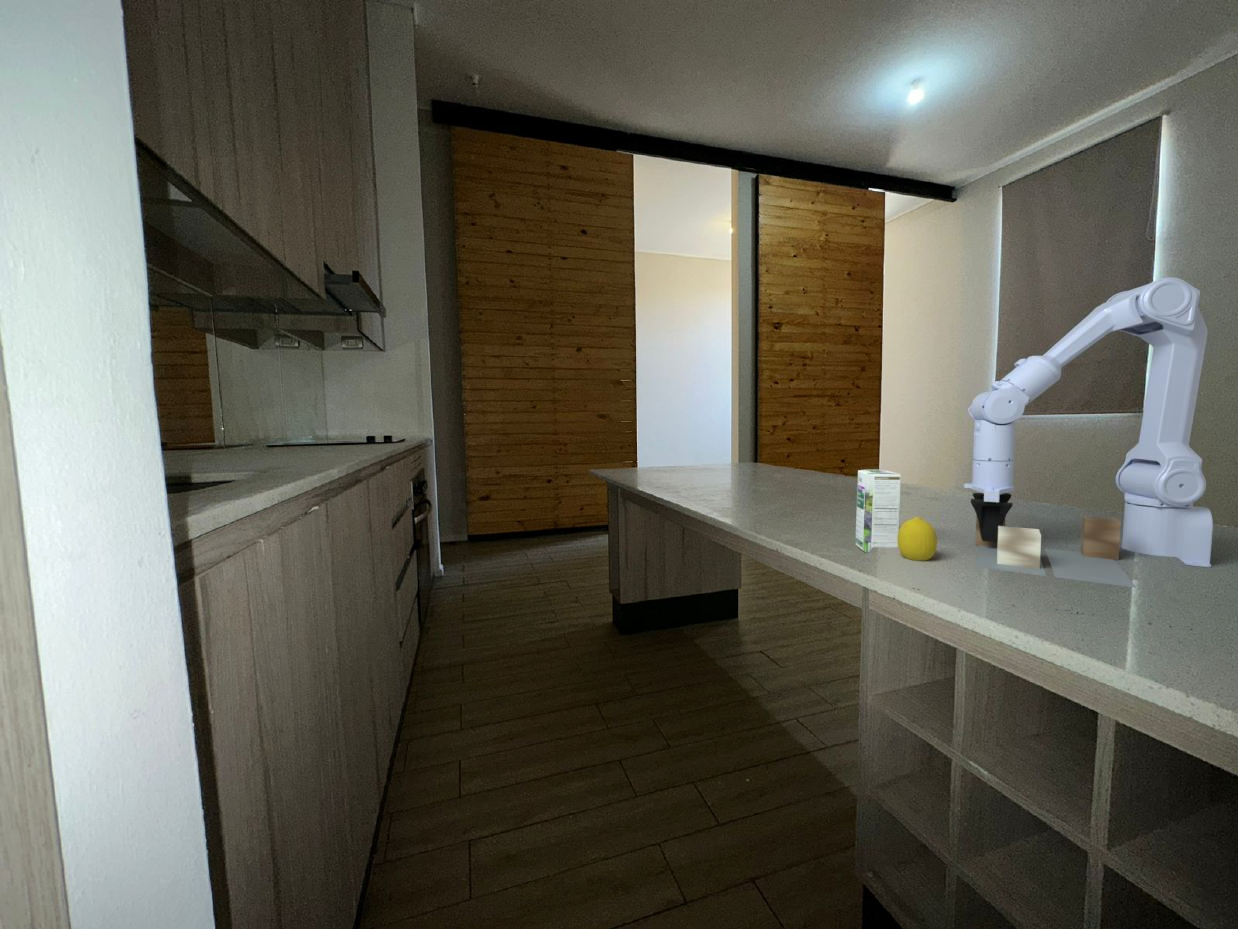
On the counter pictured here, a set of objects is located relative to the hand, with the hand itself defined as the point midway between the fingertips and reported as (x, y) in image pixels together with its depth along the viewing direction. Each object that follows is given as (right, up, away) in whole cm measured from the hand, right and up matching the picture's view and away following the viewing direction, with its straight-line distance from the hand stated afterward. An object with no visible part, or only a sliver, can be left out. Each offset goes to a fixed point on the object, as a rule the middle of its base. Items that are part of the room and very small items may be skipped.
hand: (989, 536), depth 87 cm
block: (-3, -2, -10) cm, 11 cm away
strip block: (-2, -3, -7) cm, 8 cm away
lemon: (-17, -4, -6) cm, 18 cm away
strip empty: (+5, -3, -13) cm, 14 cm away
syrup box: (-18, -3, +3) cm, 19 cm away
